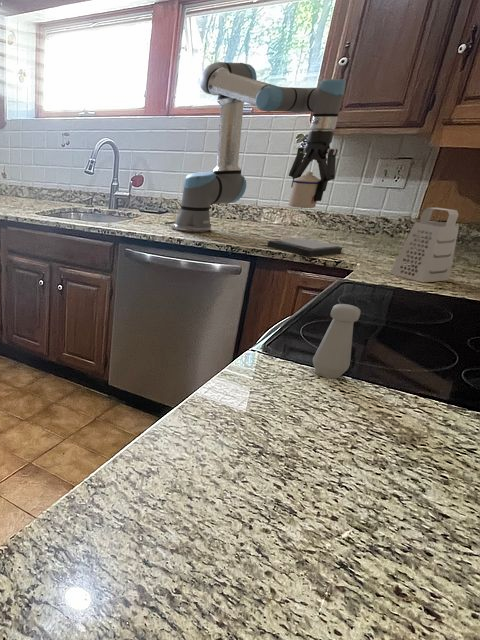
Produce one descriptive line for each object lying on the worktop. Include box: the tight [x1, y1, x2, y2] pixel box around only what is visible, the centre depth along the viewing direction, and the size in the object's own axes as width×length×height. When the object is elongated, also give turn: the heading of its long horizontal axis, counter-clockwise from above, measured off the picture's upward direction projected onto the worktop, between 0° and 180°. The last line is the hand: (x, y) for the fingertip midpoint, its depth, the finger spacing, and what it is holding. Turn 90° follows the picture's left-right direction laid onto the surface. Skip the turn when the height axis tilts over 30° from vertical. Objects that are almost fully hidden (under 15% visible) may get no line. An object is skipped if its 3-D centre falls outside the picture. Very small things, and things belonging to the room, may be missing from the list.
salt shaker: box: [312, 303, 361, 380], centre depth 93 cm, size 6×6×13 cm
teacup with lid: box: [288, 171, 321, 209], centre depth 187 cm, size 12×9×12 cm
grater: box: [389, 207, 460, 283], centre depth 155 cm, size 10×10×20 cm
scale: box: [267, 237, 343, 258], centre depth 192 cm, size 18×16×2 cm
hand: (305, 199), depth 187 cm, fingers closed on teacup with lid, 9 cm apart
